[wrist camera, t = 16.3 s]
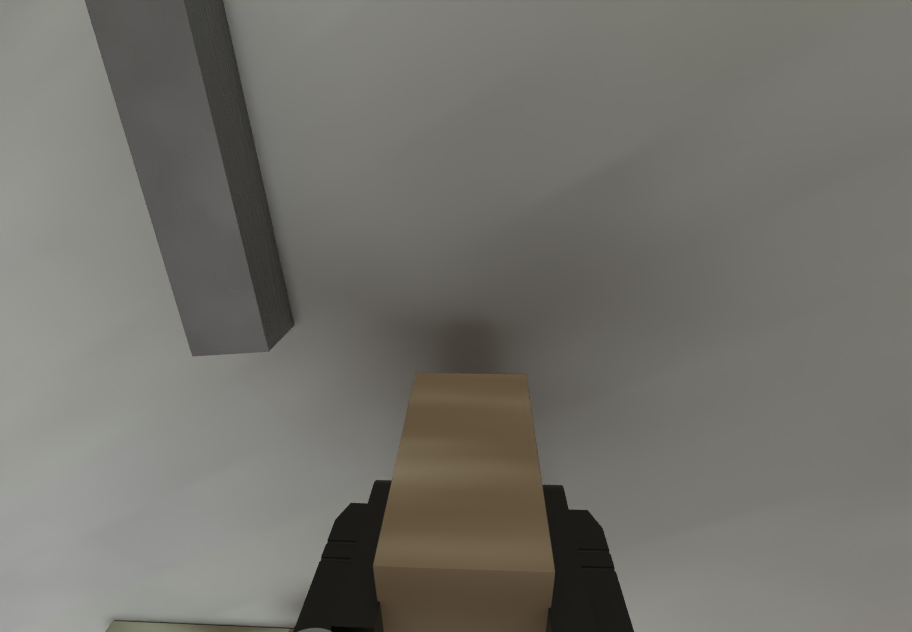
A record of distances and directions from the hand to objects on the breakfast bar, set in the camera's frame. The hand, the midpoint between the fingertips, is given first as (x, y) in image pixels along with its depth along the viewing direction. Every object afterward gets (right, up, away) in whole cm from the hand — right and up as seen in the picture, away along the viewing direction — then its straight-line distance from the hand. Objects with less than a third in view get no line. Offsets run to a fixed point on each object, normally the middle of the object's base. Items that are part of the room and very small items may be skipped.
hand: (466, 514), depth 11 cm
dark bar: (-8, +9, +5) cm, 13 cm away
